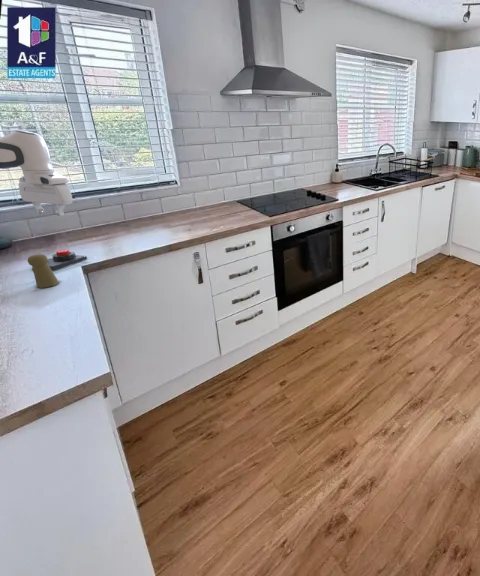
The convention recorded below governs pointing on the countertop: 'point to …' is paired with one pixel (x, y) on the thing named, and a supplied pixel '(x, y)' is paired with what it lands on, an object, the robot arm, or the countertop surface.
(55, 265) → the dark grey base
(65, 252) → the power button
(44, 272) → the olive brown upright piece
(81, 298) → the countertop surface
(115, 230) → the countertop surface
